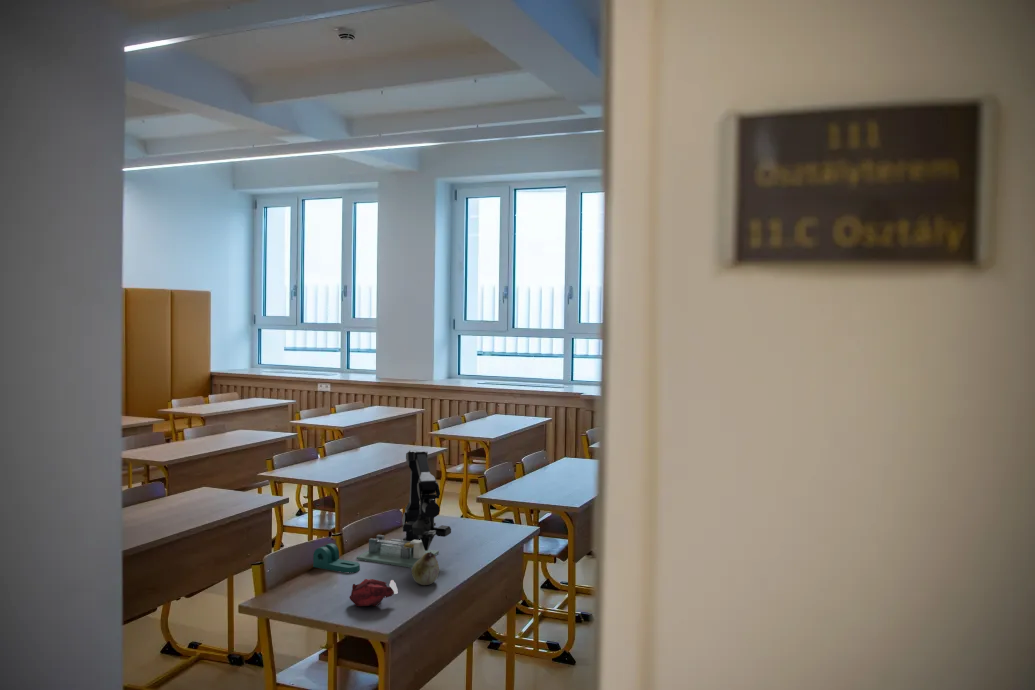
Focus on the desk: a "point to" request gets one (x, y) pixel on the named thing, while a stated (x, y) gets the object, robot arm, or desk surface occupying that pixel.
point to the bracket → (333, 560)
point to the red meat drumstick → (371, 592)
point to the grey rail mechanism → (390, 548)
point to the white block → (418, 548)
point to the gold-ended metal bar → (394, 543)
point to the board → (391, 558)
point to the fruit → (426, 569)
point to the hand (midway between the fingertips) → (426, 550)
